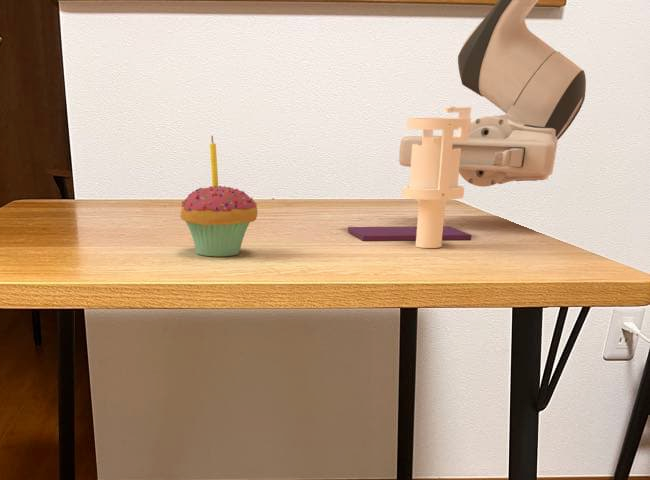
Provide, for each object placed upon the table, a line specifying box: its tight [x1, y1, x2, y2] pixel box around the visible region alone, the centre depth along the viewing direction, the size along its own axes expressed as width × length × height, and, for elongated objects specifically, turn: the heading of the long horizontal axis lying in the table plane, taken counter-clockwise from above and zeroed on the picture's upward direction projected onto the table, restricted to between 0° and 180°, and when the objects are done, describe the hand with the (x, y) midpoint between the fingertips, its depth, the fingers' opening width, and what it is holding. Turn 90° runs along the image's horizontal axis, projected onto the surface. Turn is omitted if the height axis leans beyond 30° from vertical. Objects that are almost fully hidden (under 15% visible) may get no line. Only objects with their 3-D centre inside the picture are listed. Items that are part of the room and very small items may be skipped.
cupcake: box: [180, 135, 258, 258], centre depth 96 cm, size 9×8×12 cm
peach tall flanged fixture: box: [401, 106, 472, 249], centre depth 102 cm, size 7×7×15 cm
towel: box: [347, 225, 472, 242], centre depth 113 cm, size 14×8×1 cm, turn 98°
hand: (462, 157), depth 110 cm, fingers open, 8 cm apart
